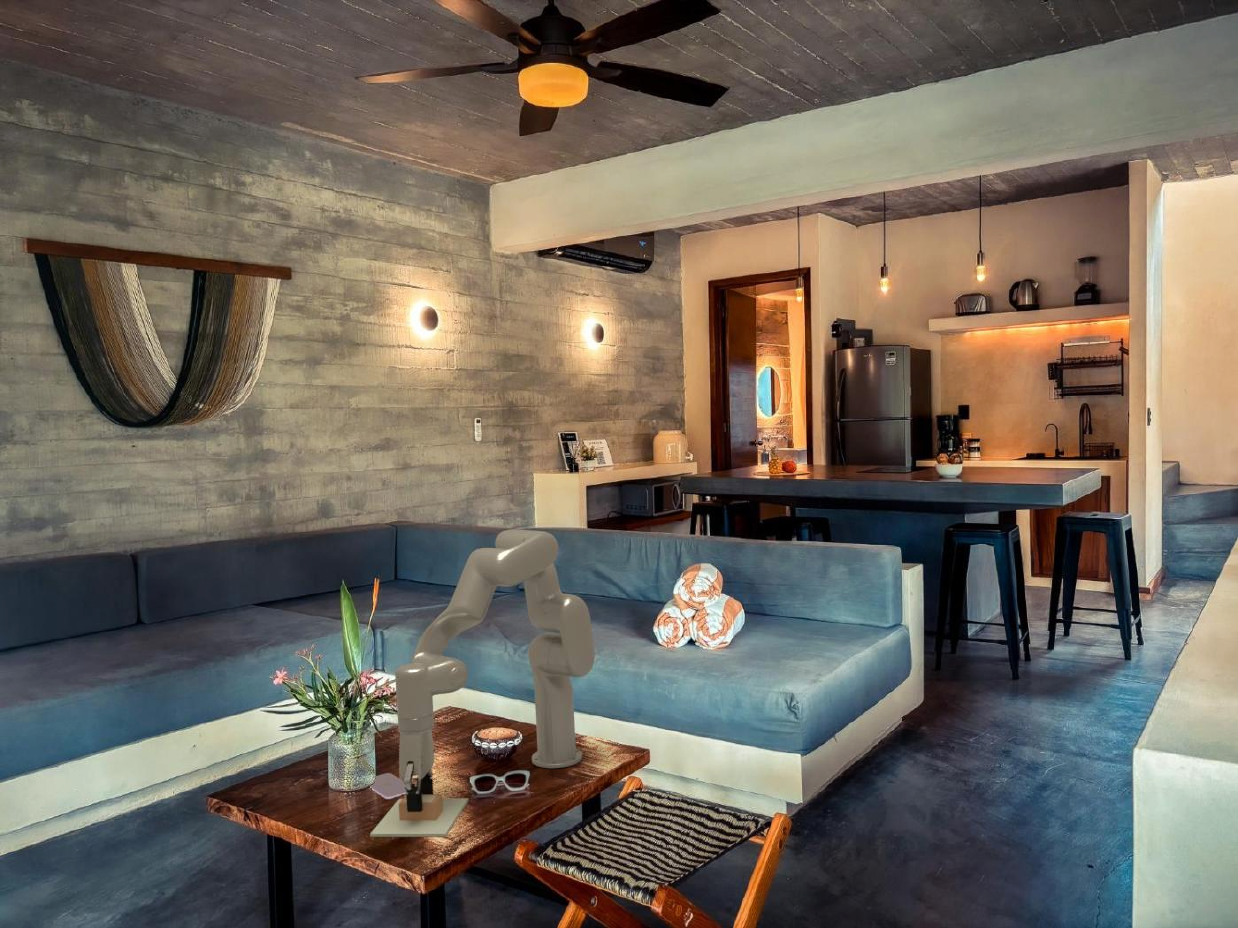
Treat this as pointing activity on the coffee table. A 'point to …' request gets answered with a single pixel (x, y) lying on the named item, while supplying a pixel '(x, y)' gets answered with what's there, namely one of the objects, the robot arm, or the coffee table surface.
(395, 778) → the mobile phone
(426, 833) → the play mat
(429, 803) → the block
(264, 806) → the coffee table surface
